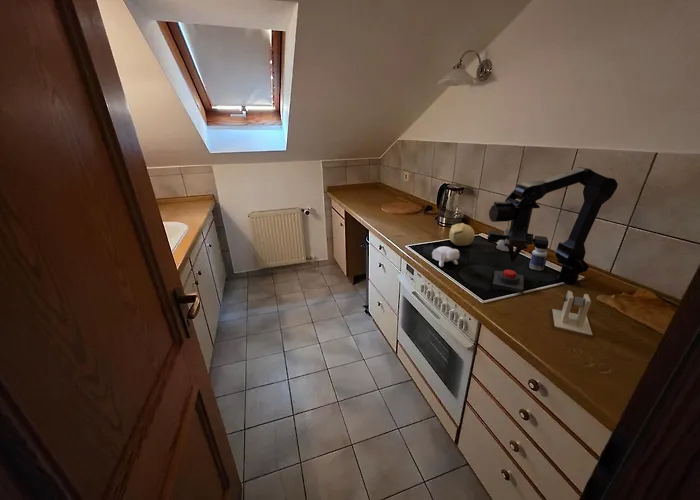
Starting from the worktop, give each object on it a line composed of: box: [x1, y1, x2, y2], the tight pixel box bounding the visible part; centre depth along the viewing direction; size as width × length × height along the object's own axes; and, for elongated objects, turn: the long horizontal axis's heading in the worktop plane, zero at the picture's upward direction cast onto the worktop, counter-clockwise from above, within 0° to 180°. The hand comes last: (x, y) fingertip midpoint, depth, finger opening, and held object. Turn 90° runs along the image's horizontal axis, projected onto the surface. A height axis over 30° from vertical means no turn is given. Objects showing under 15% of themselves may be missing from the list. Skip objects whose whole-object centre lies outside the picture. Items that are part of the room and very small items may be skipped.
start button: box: [503, 269, 517, 278], centre depth 111 cm, size 4×4×2 cm
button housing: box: [491, 270, 525, 294], centre depth 112 cm, size 12×10×4 cm
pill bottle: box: [529, 246, 548, 271], centre depth 123 cm, size 5×5×10 cm
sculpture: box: [448, 222, 475, 247], centre depth 150 cm, size 11×12×11 cm
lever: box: [563, 295, 584, 307], centre depth 92 cm, size 13×3×3 cm, turn 152°
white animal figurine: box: [431, 245, 461, 268], centre depth 130 cm, size 9×8×15 cm
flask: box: [496, 227, 510, 252], centre depth 142 cm, size 7×7×10 cm
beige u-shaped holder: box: [552, 290, 593, 336], centre depth 89 cm, size 10×9×10 cm
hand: (512, 261), depth 109 cm, fingers closed
